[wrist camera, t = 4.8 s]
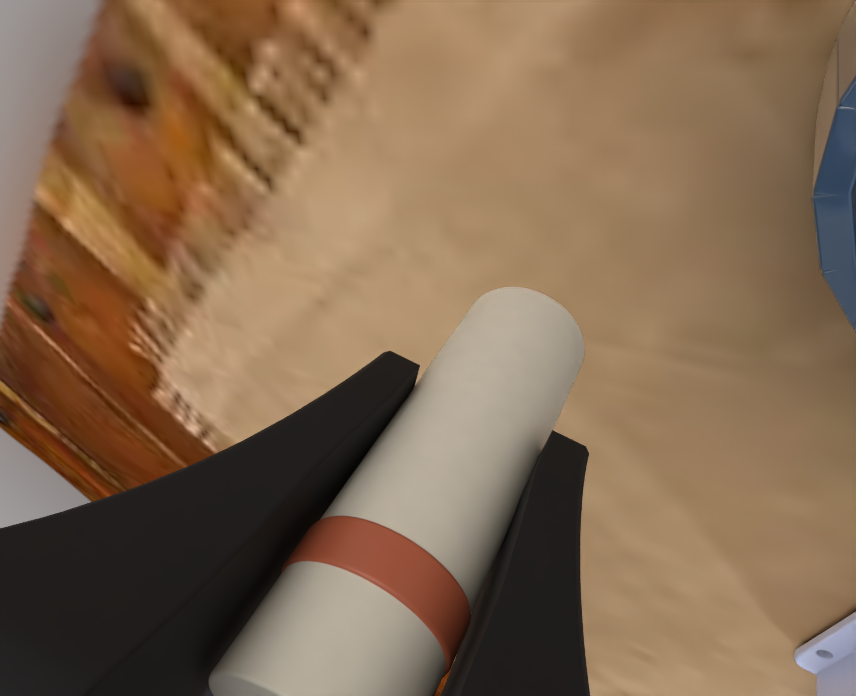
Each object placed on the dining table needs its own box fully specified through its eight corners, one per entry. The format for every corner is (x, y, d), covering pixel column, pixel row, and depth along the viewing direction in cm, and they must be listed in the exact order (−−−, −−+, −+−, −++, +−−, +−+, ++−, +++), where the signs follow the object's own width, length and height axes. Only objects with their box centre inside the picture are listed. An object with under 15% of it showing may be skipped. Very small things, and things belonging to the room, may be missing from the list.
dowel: (562, 407, 15) (376, 823, 9) (453, 354, 15) (209, 714, 9) (608, 319, 13) (410, 774, 7) (481, 263, 13) (196, 641, 7)
